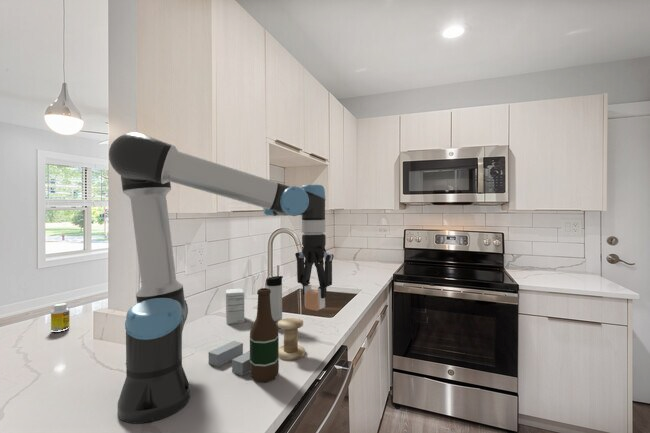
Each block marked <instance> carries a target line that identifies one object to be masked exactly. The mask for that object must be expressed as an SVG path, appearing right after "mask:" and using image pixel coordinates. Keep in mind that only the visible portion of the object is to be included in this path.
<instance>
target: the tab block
mask: <svg viewBox="0 0 650 433" xmlns="http://www.w3.org/2000/svg"><path fill="white" fill-rule="evenodd" d="M305 303H306V307H305V310H311V311H315V312H318V311H320V310H321V309H318V289H317V290H316V289H311V291H309V292H307V293H305V295H304V304H305Z"/></svg>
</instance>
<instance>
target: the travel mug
mask: <svg viewBox="0 0 650 433" xmlns="http://www.w3.org/2000/svg"><path fill="white" fill-rule="evenodd" d="M283 278H284V276H283V275H276V276H270V277H268V278H266V280H265V282H266V283H265V288H268V289H270V291H271V293H270V303H271V314H272V318H273V320H274V321H275V323H276V325H277V327H278V321H280V320H282V319H283ZM278 329H280V328H279V327H278Z"/></svg>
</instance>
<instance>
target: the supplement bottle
mask: <svg viewBox="0 0 650 433" xmlns="http://www.w3.org/2000/svg"><path fill="white" fill-rule="evenodd" d="M68 327H69V328H70V308H68V303H66V302H62V303H57V304H53V310H51V312H50V331H51V330H53V331H58V330H63V329H66V328H68Z"/></svg>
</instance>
